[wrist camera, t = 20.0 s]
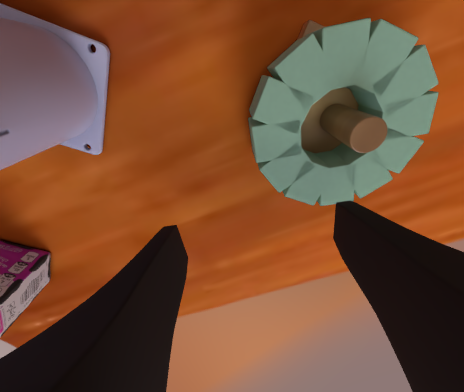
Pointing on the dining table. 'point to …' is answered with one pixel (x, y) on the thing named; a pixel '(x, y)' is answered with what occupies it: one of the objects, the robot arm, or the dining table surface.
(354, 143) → the peg stand
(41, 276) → the candy bar box
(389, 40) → the ring
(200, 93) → the dining table surface
